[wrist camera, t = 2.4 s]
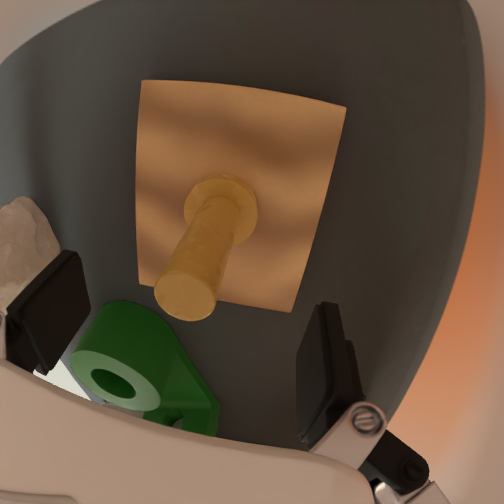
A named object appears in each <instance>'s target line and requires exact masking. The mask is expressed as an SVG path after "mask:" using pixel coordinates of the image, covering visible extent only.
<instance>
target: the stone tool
mask: <svg viewBox="0 0 504 504" xmlns="http://www.w3.org/2000/svg"><path fill="white" fill-rule="evenodd" d="M59 254H60V245H59V243H58V241H57V239H56V237H55V235H54V233H53V231H52V229H51V226H50V224H49V222H48V219H47V217H46V216H45V215H44V214H43V212H42V211H41V210H40V209H39V208H38V206H37V205H36V204H35V203H34V202H33V201H32V200H31V199H29V198H27V197H25V196H22V197H18V198H16V199H15V200H13V201H12V202H11V203H10V204H9V205H4V206H3V207H2V208H1V209H0V311H2V312H3V313H4V315H5V316H6V315H7V314H8V313H7V311H6V308H7V307H8V306H9V304H10V303H11V302H12V301H13V300H14V299H15V298H16V297H17V296H18V295H19V294H20V292H21V291H22V290H23V289H24V288H25V287H26V286H27V285H28V284H29V283H30V282H31V281H32V280H33V279H34V278H35V277H36V276H37V275H38V274H39V273H40V272H41V271H42V270H43V269H44V268H45V267H46V266H47V265H48V264H49V263H50V262H51V261H52V260H53V259H54V258H56V257H57V256H58V255H59Z"/></svg>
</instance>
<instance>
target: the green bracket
mask: <svg viewBox="0 0 504 504" xmlns="http://www.w3.org/2000/svg"><path fill="white" fill-rule="evenodd" d="M70 366H71V368H72V370H73V372H74V374H75V375H76V377H77V378H78V379H79V380H80V381H81V383H82V384H84V385H85V386H86V387H87V388H88V389H89V390H90V391H92V392H93V393H94V394H96V395H97V396H99V397H101V398H102V399H104V400H106V401H108V402H110V403H112V404H114V405H117V406H119V407H122V408H125V409H129V410H134V411H144V414H143V417H142V419H144V420H147V421H150V422H154V423H157V424H161V425H165V426H168V427H172V426H173V425H174V423H175V422H176V421H178V420H179V419H181V418H183V422H182V426H181V430H184V431H188V432H192V433H197V434H202V435H206V436H211V437H216V431H217V425H218V420H219V414H220V408H221V405H220V403H219V402H218V400H217V399H216V398H215V396H214V395H213V393H212V392H211V390H210V389H209V387H208V386H207V384H206V383H205V381H204V380H203V378H202V377H201V375H200V374H199V372H198V371H197V369H196V367H195V366H194V364H193V363H192V361H191V360H190V358H189V356H188V355H187V353H186V352H185V350H184V348H183V347H182V345H181V343H180V342H179V340H178V338H177V337H176V335H175V333H174V332H173V330H172V329H171V327H170V326H169V325H168V324H167V323H166V322H165V321H164V320H163V319H162V318H161V317H160V316H158V315H157V314H156V313H154V312H152V311H151V310H149V309H147V308H145V307H143V306H141V305H138V304H135V303H132V302H127V301H113V302H109V303H107V304H105V305H104V306H103V307H102V308H101V309H100V310H99V312H98V313H97V315H96V316H95V318H94V320H93V321H92V323H91V324H90V326H89V327H88V329H87V330H86V332H85V334H84V335H83V337H82V338H81V340H80V342H79V343H78V345H77V347H76V348H75V350H74V351H73V353H72V355H71V357H70Z"/></svg>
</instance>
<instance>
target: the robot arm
mask: <svg viewBox="0 0 504 504" xmlns="http://www.w3.org/2000/svg"><path fill="white" fill-rule="evenodd" d="M6 311H7V313H8V314H7V315H6V316H5V315H4V313H3V312H2V311H0V504H450V502H449V501H448V499H447V498H446V497H445V495H444V494H443V493H442V491H441V490H440V488H439V487H438V486H437V484H436V483H435V481H432V482H430V480H429V479H428V477H429V467H428V464H427V462H426V460H425V459H424V458H422V456H420V455H419V454H417V453H416V452H415V451H414V450H412V449H411V448H410V447H409V446H407V445H406V444H405V443H403V442H402V441H401V440H400V439H398V438H397V437H396V436H394V435H393V434H392V433H391V432H389V431H388V430H387V429H386V427H387V417H386V414H385V413H384V411H383V410H382V409H381V408H380V407H379V406H378V405H376V404H375V403H373V402H369V401H364V399H363V393H362V388H361V382H360V377H359V371H358V366H357V361H356V356H355V351H354V346H353V343H352V341H351V340H345V336H344V331H343V326H342V321H341V316H340V311H339V306H338V304H337V303H331V302H325V301H323V302H322V303H321V304H320V305H318V304H316V306H315V308H314V311H313V313H312V316H311V319H310V321H309V324H308V326H307V329H306V331H305V334H304V336H303V339H302V341H301V344H300V346H299V349H298V351H297V355H296V434H297V435H301V443H308V449H309V450H310V451H309V452H305V451H300V450H294V449H287V448H280V447H273V446H265V445H258V444H251V443H245V442H238V441H233V440H227V439H222V438H216V437H211V436H206V435H202V434H197V433H192V432H188V431H184V430H180V429H176V428H172V427H168V426H165V425H161V424H157V423H154V422H150V421H147V420H144V419H141V418H137V417H134V416H131V415H128V414H125V413H122V412H119V411H116V410H114V409H111V408H108V407H105V406H103V405H100V404H98V403H95V402H92V401H90V400H87V399H84V398H83V397H80V396H78V395H75V394H73V393H71V392H69V391H66V390H64V389H62V388H60V387H57V386H56V385H53V384H51V383H49V382H47V381H45V380H43V379H41V378H39V377H37V376H35V375H33V371H34V369H36V371H37V372H39V373H41V374H43V375H45V376H46V375H47V374H48V372H49V370H52V369H53V368H54V367H55V365H56V364H57V362H58V360H59V359H60V357H61V356H62V354H63V353H64V351H65V349H66V348H67V346H68V345H69V343H70V342H71V340H72V339H73V337H74V336H75V334H76V333H77V331H78V330H79V328H80V327H81V326H82V324H83V323H84V321H85V320H86V318H87V317H88V315H89V314H90V311H91V305H90V301H89V296H88V292H87V287H86V282H85V277H84V272H83V266H82V260H81V258H80V257H79V255H78V253H77V252H74V251H70V250H63V251H62V252H61V253H60V254H59V255H58V256H57V257H56V258H54V259H53V260H52V261H51V262H50V263H49V264H48V265H47V266H46V267H45V268H44V269H43V270H42V271H41V272H40V273H39V274H38V275H37V276H36V277H35V278H34V279H33V280H32V281H31V282H30V283H29V284H28V285H27V286H26V287H25V288H24V289H23V290H22V291H21V292H20V294H19V295H18V296H17V297H16V298H15V299H14V300H13V301H12V302H11V303H10V304H9V306H8V307H7V308H6Z"/></svg>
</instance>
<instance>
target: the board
mask: <svg viewBox="0 0 504 504" xmlns="http://www.w3.org/2000/svg"><path fill="white" fill-rule="evenodd" d="M346 110H347V108H346V107H343V106H340V105H336V104H332V103H328V102H324V101H320V100H315V99H311V98H307V97H302V96H297V95H292V94H287V93H282V92H276V91H270V90H264V89H258V88H251V87H244V86H236V85H228V84H218V83H207V82H194V81H176V80H142V83H141V92H140V102H139V114H138V128H137V146H136V184H135V200H136V239H137V258H138V272H139V283H140V284H142V285H147V286H151V287H154V286H155V283H156V281H157V279H158V277H159V275H160V274H161V272H162V270H163V268H164V267H165V265H166V263H167V261H168V260H169V258H170V256H171V255H172V253H173V251H174V250H175V248H176V246H177V245H178V243H179V241H180V240H181V238H182V236H183V235H184V233H185V231H186V230H187V228H188V226H187V223H186V221H185V217H184V205H185V201H186V199H187V196H188V195H189V193H190V192H191V190H192V189H193V188H194V187H195V186H196V185H197V183H199V182H200V181H201V180H202V179H204V178H206V177H208V176H211V175H215V174H228V175H233V176H235V177H238V178H240V179H241V180H243V181H244V182H246V183H247V184H248V185H249V186H250V187H251V188H252V190H253V191H254V193H255V195H256V197H257V200H258V205H259V212H258V219H257V223H256V227H255V229H254V231H253V233H252V234H251V235H250V236H249V237H248V238H247V239H246V240H245V241H244V242H242V243H240V244H238V245H235V246H232V248H231V252H230V255H229V259H228V262H227V266H226V269H225V273H224V276H223V280H222V283H221V287H220V291H219V294H218V298H217V300H219V301H225V302H230V303H235V304H241V305H247V306H252V307H258V308H264V309H270V310H276V311H282V312H289V313H291V311H292V308H293V305H294V302H295V299H296V296H297V293H298V290H299V286H300V283H301V280H302V277H303V274H304V270H305V267H306V264H307V260H308V257H309V254H310V250H311V247H312V243H313V240H314V236H315V233H316V229H317V226H318V222H319V219H320V215H321V211H322V208H323V204H324V200H325V197H326V193H327V189H328V185H329V181H330V177H331V174H332V170H333V166H334V162H335V157H336V153H337V149H338V145H339V141H340V137H341V132H342V128H343V123H344V119H345V114H346Z"/></svg>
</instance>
